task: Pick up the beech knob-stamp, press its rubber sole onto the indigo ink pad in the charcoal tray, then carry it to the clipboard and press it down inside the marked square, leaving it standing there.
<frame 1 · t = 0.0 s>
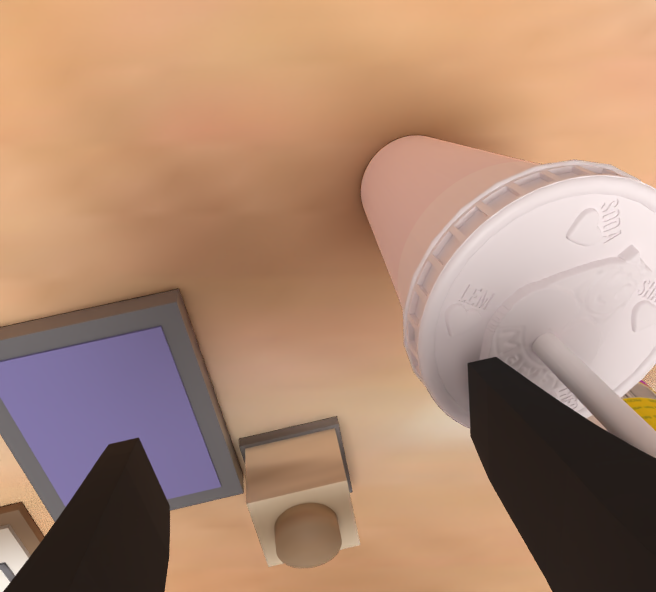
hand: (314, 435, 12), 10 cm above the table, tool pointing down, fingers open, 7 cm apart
ink tray: (118, 414, 23), on the table
supplement bottle: (572, 410, 27), on the table
stamp: (297, 460, 26), on the table
smoothie: (409, 185, 20), on the table, touching gripper
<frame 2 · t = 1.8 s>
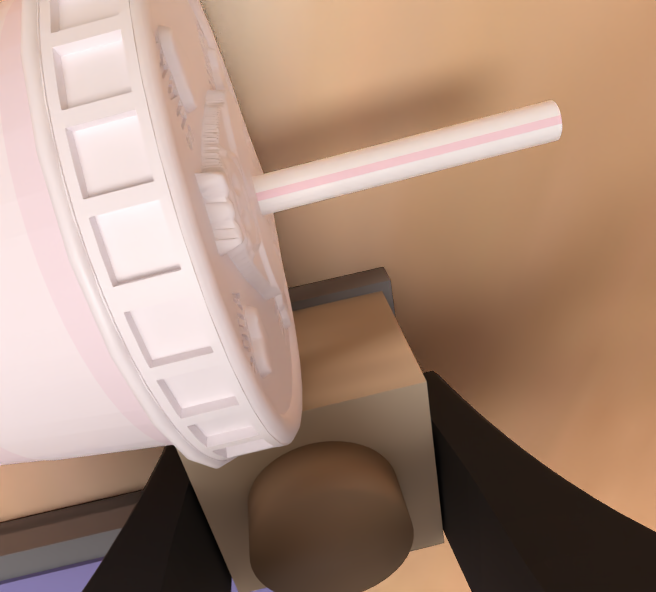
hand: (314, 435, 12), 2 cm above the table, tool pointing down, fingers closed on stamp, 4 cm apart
ink tray: (169, 591, 16), on the table
stamp: (301, 372, 13), on the table, touching gripper
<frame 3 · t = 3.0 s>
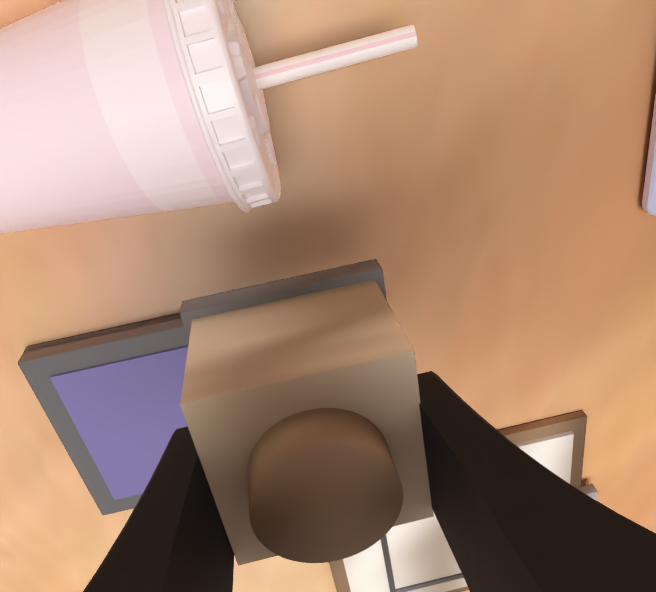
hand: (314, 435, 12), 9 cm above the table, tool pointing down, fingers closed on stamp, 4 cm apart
ink tray: (195, 399, 22), on the table
stamp: (299, 361, 13), point 7 cm above the table, touching gripper
clipboard: (452, 520, 28), on the table
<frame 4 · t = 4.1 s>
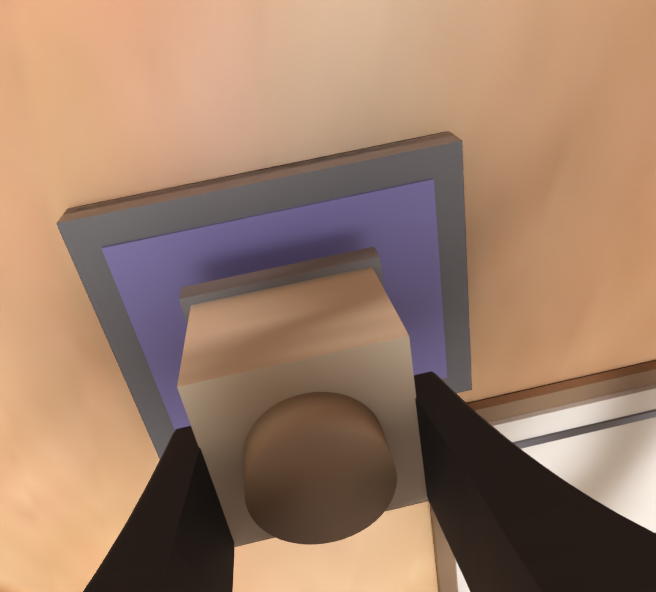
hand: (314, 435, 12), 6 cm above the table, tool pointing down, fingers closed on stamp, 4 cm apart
ink tray: (290, 300, 16), on the table
stamp: (297, 348, 14), point 3 cm above the table, touching gripper
clipboard: (588, 480, 22), on the table
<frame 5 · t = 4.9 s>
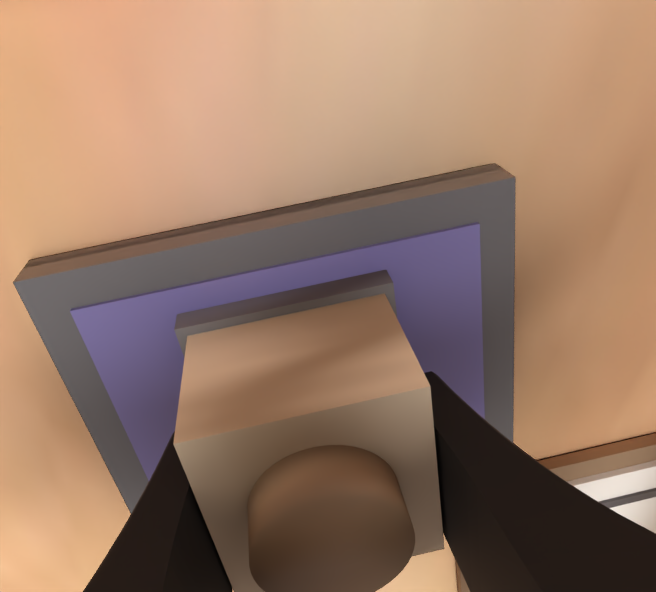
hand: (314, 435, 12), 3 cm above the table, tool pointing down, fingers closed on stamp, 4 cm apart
ink tray: (301, 361, 14), on the table
stamp: (301, 374, 13), point 1 cm above the table, touching gripper, ink tray
clipboard: (635, 546, 20), on the table
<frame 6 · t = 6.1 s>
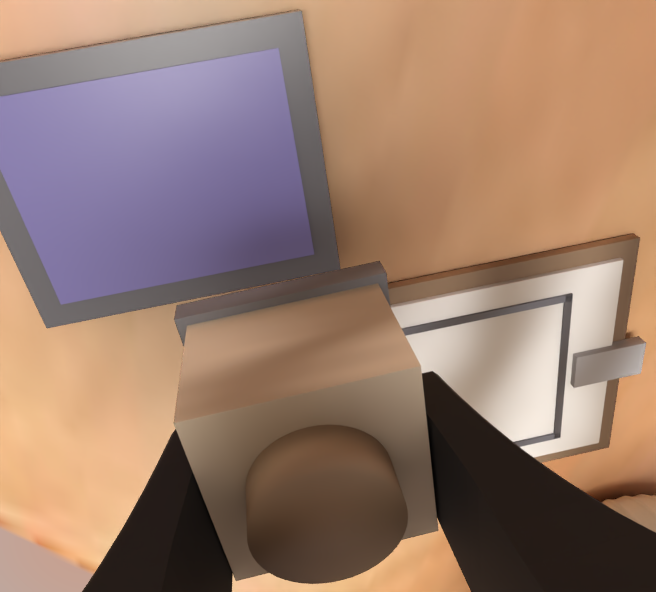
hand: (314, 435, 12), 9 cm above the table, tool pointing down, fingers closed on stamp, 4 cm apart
ink tray: (164, 175, 18), on the table
stamp: (298, 365, 13), point 7 cm above the table, touching gripper
canister: (593, 557, 32), on the table
clipboard: (472, 380, 24), on the table
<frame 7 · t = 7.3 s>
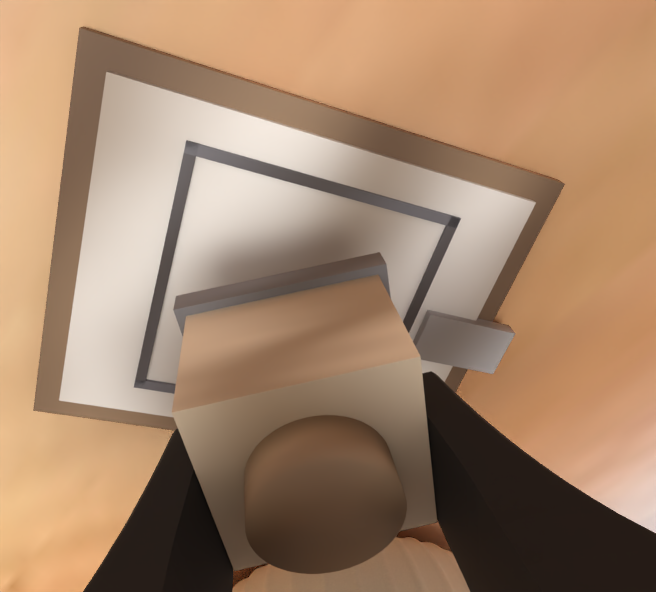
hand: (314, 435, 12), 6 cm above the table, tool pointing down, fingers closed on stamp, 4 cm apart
stamp: (298, 357, 13), point 4 cm above the table, touching gripper
clipboard: (289, 294, 17), on the table
when the fingers open (2 cm above the table, at t = 8.4 s): stamp stays where it is, resting on clipboard.
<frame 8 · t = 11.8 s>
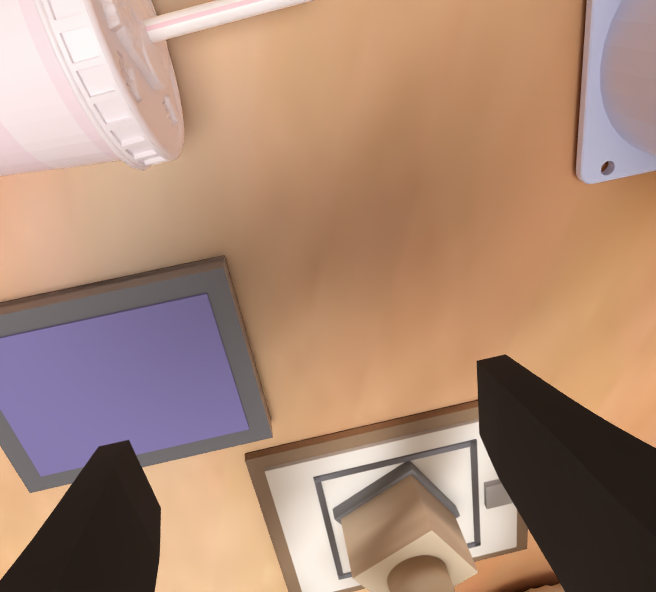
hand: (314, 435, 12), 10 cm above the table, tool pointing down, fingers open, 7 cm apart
ink tray: (123, 373, 22), on the table
stamp: (395, 507, 27), point 1 cm above the table, touching clipboard
clipboard: (399, 503, 28), on the table
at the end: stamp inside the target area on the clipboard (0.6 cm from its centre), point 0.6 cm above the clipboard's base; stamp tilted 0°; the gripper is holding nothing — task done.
